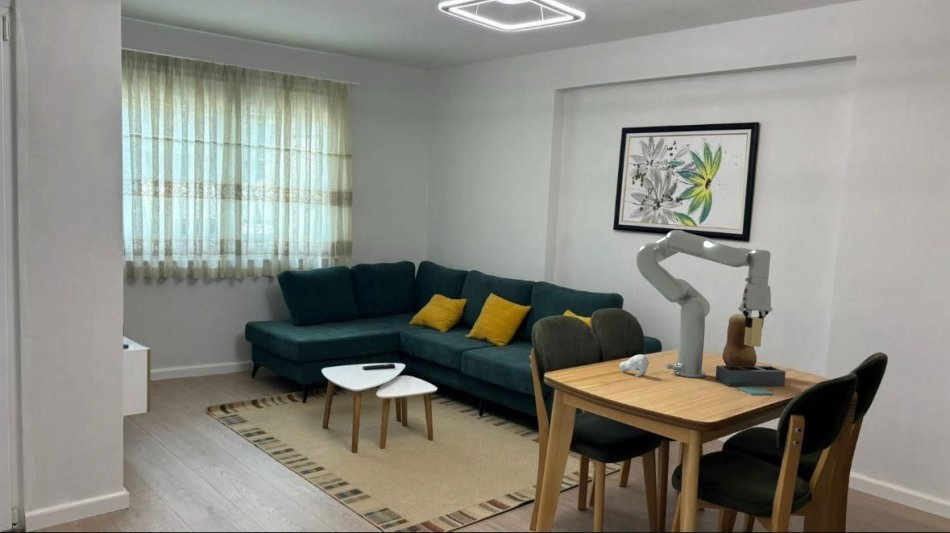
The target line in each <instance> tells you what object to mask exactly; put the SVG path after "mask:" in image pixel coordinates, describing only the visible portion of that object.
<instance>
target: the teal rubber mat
mask: <svg viewBox="0 0 950 533" xmlns="http://www.w3.org/2000/svg"><path fill="white" fill-rule="evenodd" d="M737 390H739V391H742V392H743V393H746V394H747V395H750V394H751V395H750V396H774V393H773V392H771V391H769V390H766V389H764V388H762V387H737Z"/></svg>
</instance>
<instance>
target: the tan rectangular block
mask: <svg viewBox="0 0 950 533" xmlns="http://www.w3.org/2000/svg"><path fill="white" fill-rule="evenodd" d="M758 317H759V316H752V317H751V318H752V321H751V328H748V327H745V339H744V344H745V345H748V346H754V347H759V348H760V347H761V343H762V336H763V335H762V334H763V328H762V324H763V325H764V322H763V319H762V318H758Z"/></svg>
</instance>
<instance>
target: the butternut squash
mask: <svg viewBox="0 0 950 533" xmlns="http://www.w3.org/2000/svg"><path fill="white" fill-rule="evenodd" d="M751 317H753V316H752V315H751ZM726 331H727V332H726V333H727V334H726V335H727V336H726V343H725V346H724V347H723V351H722V360H723V362H724V365H725V366H756V365H757V360H758V359H757V358H758V357H757V353H756V350H755V346H748V345H745V344H744V339H745V316H744V314H743V313H737V312H736V313H733V314H732V315H730V317H729V318H728V326H727V330H726Z"/></svg>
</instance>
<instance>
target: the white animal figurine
mask: <svg viewBox="0 0 950 533" xmlns="http://www.w3.org/2000/svg"><path fill="white" fill-rule="evenodd" d="M649 364H650V362H649V358H648V357H647V356H646V355H644V354H635V355H634V356H632V357H631V358H629V359H627V360H625V361H621V362H620V363H619V369H620V371H621V372H622V373H623V374H624V373H627V372H628V371H631V373H634V374H635V373H636V374H635V378H638V377H641V376H644V375H646V373H647V370H648V368H649ZM637 371H639V372H637Z"/></svg>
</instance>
